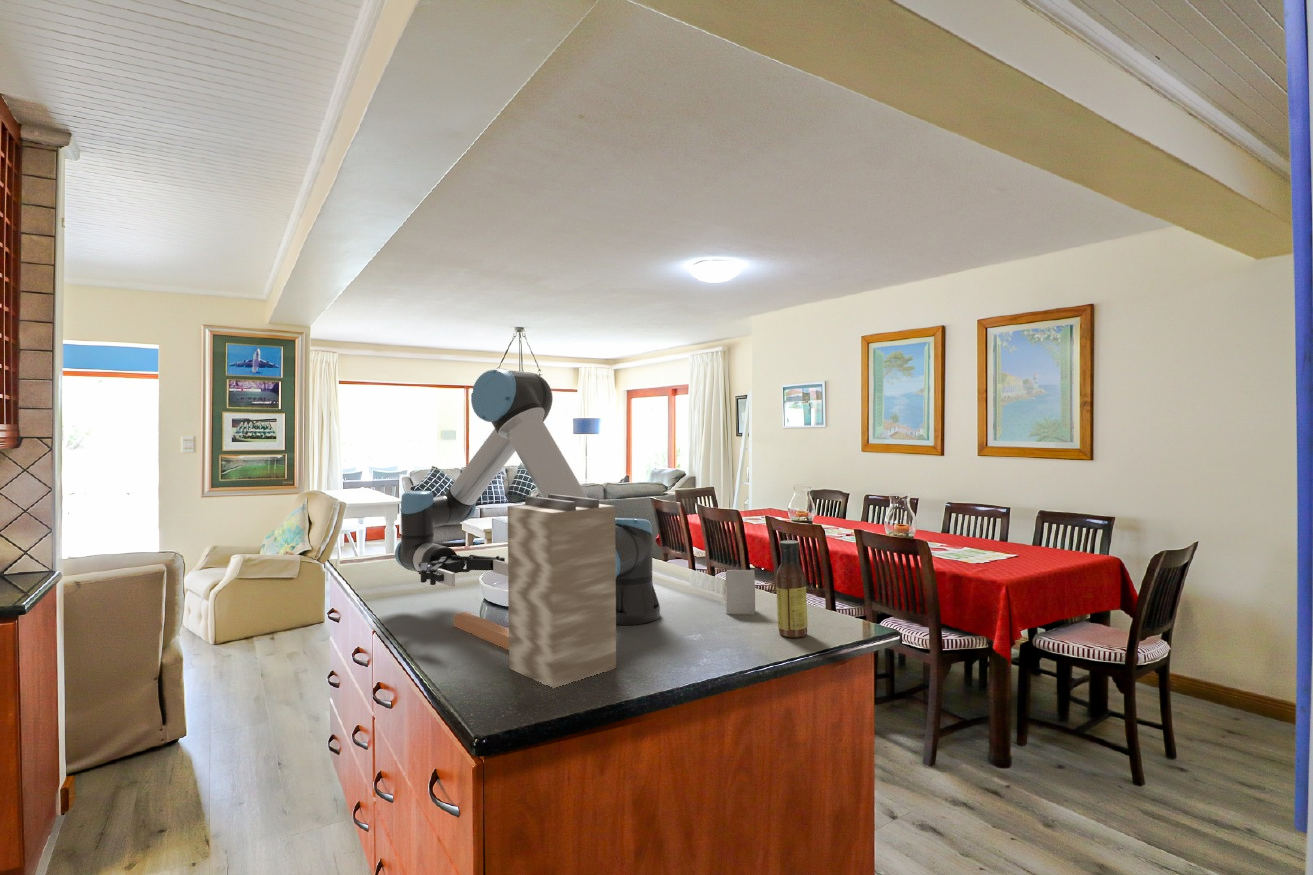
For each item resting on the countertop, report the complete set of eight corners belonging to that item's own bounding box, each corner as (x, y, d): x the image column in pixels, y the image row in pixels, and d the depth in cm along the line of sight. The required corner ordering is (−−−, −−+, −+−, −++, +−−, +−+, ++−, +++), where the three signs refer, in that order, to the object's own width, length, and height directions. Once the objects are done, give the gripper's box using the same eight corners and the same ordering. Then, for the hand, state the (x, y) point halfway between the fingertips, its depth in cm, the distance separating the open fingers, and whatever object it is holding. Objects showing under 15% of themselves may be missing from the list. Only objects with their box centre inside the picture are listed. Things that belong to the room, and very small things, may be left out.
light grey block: (755, 614, 164) (755, 571, 164) (726, 613, 164) (726, 571, 164) (753, 609, 168) (753, 568, 168) (725, 609, 168) (725, 568, 168)
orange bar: (454, 627, 156) (453, 614, 156) (466, 624, 158) (466, 611, 158) (516, 655, 137) (516, 640, 137) (529, 652, 139) (529, 637, 139)
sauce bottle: (810, 632, 149) (810, 540, 149) (803, 640, 144) (803, 544, 143) (780, 628, 152) (780, 538, 152) (772, 636, 147) (772, 542, 146)
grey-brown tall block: (509, 668, 128) (507, 498, 128) (570, 650, 138) (568, 492, 137) (553, 688, 118) (552, 504, 118) (616, 668, 128) (615, 497, 127)
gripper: (483, 568, 172) (532, 582, 157) (383, 585, 155) (427, 602, 140) (483, 538, 172) (531, 549, 157) (383, 552, 155) (427, 565, 139)
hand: (482, 574), depth 148 cm, fingers open, 13 cm apart
